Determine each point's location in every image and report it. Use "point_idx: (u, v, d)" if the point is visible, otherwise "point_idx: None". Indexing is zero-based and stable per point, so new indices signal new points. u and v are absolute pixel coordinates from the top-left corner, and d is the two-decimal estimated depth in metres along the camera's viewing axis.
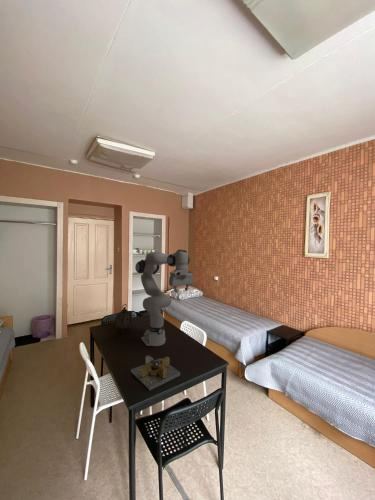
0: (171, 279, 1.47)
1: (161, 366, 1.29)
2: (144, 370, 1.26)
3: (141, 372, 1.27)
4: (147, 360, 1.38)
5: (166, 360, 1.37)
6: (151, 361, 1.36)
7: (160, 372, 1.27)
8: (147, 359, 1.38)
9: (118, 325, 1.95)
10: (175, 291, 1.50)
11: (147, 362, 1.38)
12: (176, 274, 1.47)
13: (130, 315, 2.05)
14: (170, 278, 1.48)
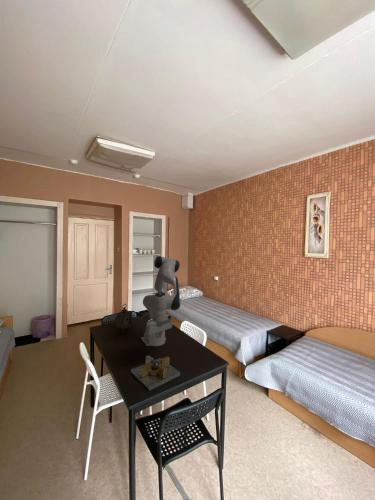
0: None
1: (161, 366, 1.29)
2: (144, 370, 1.26)
3: (141, 372, 1.27)
4: (147, 360, 1.38)
5: (166, 360, 1.37)
6: (151, 361, 1.36)
7: (160, 372, 1.27)
8: (147, 359, 1.38)
9: (118, 325, 1.95)
10: None
11: (147, 362, 1.38)
12: None
13: (130, 315, 2.05)
14: None
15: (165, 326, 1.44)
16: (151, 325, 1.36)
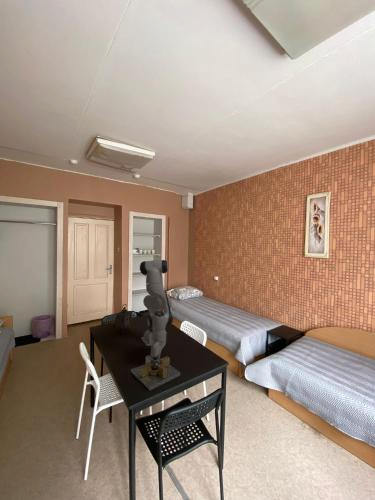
0: None
1: (161, 366, 1.29)
2: (144, 370, 1.26)
3: (141, 372, 1.27)
4: (147, 360, 1.38)
5: (166, 360, 1.37)
6: (151, 361, 1.36)
7: (160, 372, 1.27)
8: (147, 359, 1.38)
9: (118, 325, 1.95)
10: None
11: (147, 362, 1.38)
12: None
13: (130, 315, 2.05)
14: None
15: (163, 344, 1.46)
16: (157, 347, 1.35)
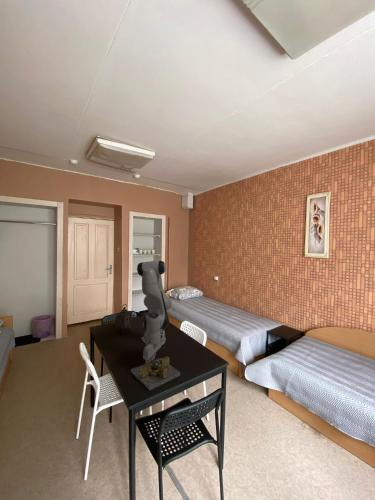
0: None
1: (161, 366, 1.29)
2: (144, 370, 1.26)
3: (141, 372, 1.26)
4: (147, 360, 1.38)
5: (166, 360, 1.37)
6: (151, 361, 1.36)
7: (160, 372, 1.27)
8: None
9: (118, 325, 1.95)
10: (153, 358, 1.41)
11: (147, 362, 1.38)
12: None
13: (130, 315, 2.05)
14: None
15: (157, 346, 1.43)
16: (149, 349, 1.32)
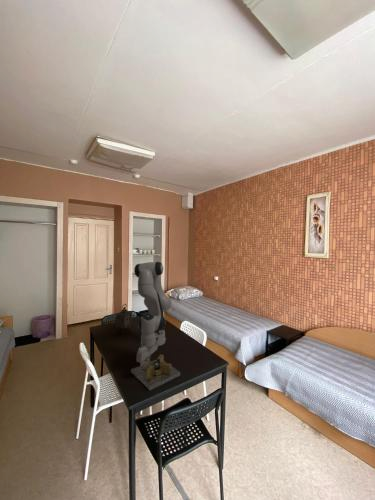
0: None
1: (165, 363, 1.32)
2: (151, 372, 1.24)
3: (148, 375, 1.24)
4: (143, 363, 1.34)
5: (162, 358, 1.40)
6: (149, 363, 1.34)
7: (165, 369, 1.30)
8: (143, 362, 1.34)
9: (118, 325, 1.95)
10: None
11: (143, 365, 1.34)
12: None
13: (130, 315, 2.05)
14: None
15: (153, 349, 1.39)
16: (143, 352, 1.28)
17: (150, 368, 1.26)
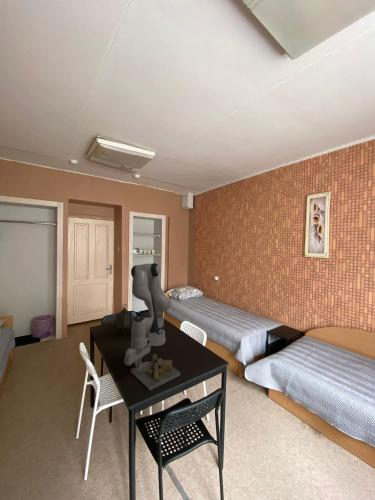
0: None
1: (165, 361, 1.35)
2: (158, 372, 1.25)
3: (156, 375, 1.24)
4: (143, 367, 1.30)
5: (156, 357, 1.41)
6: (149, 364, 1.32)
7: (167, 366, 1.34)
8: (142, 366, 1.30)
9: (118, 325, 1.95)
10: None
11: (143, 369, 1.31)
12: None
13: (130, 315, 2.05)
14: None
15: (144, 352, 1.35)
16: (131, 354, 1.25)
17: (156, 368, 1.26)
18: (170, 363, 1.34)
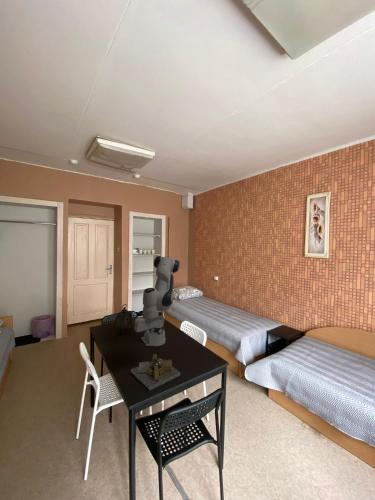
0: None
1: (165, 361, 1.35)
2: (158, 372, 1.25)
3: (156, 375, 1.24)
4: (143, 367, 1.30)
5: (156, 357, 1.41)
6: (149, 364, 1.32)
7: (167, 366, 1.34)
8: (142, 366, 1.30)
9: (118, 325, 1.95)
10: (151, 333, 1.39)
11: (143, 369, 1.31)
12: None
13: (130, 315, 2.05)
14: None
15: (156, 323, 1.38)
16: (139, 322, 1.31)
17: (156, 368, 1.26)
18: (170, 363, 1.34)
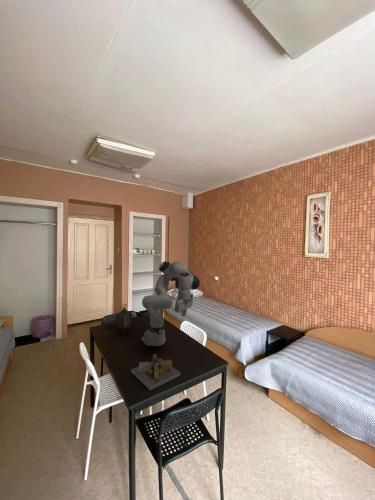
0: None
1: (165, 361, 1.35)
2: (158, 372, 1.25)
3: (156, 375, 1.24)
4: (143, 367, 1.30)
5: (156, 357, 1.41)
6: (149, 364, 1.32)
7: (167, 366, 1.34)
8: (142, 366, 1.30)
9: (118, 325, 1.95)
10: None
11: (143, 369, 1.31)
12: None
13: (130, 315, 2.05)
14: None
15: (188, 304, 1.54)
16: (180, 303, 1.44)
17: (156, 368, 1.26)
18: (170, 363, 1.34)
